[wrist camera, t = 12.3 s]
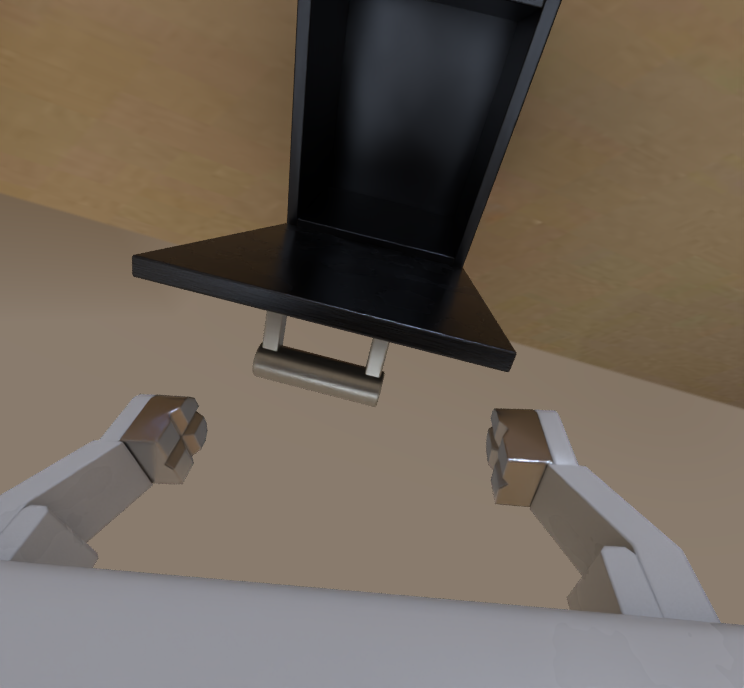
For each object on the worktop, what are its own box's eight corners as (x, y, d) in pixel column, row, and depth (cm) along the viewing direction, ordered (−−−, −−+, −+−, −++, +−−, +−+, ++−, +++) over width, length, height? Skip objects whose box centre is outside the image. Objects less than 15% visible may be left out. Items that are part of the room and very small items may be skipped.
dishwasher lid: (130, 254, 13) (132, 375, 15) (518, 352, 13) (471, 464, 15) (285, 222, 28) (276, 284, 30) (463, 267, 28) (444, 327, 30)
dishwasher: (344, -34, 27) (300, -71, 19) (532, 10, 27) (565, -9, 19) (321, 190, 36) (286, 226, 29) (460, 224, 36) (461, 270, 28)
